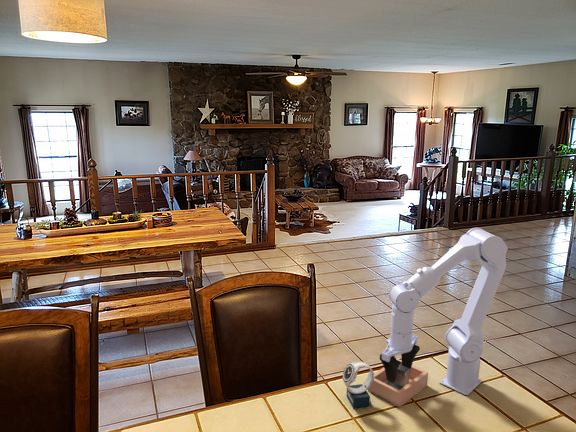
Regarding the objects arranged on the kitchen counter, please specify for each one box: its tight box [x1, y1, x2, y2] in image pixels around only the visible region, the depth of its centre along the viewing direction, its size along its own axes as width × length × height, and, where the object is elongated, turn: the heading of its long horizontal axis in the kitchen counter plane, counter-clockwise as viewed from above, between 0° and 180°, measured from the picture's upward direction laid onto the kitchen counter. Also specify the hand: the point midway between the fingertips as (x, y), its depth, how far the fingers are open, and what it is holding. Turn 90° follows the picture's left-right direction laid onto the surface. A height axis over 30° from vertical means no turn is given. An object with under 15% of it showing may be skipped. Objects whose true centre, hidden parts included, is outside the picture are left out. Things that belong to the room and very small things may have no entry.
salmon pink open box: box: [367, 358, 429, 408], centre depth 123 cm, size 14×10×4 cm
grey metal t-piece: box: [385, 365, 410, 390], centre depth 123 cm, size 5×5×6 cm
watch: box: [342, 361, 375, 410], centre depth 116 cm, size 6×8×11 cm
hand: (398, 375), depth 123 cm, fingers open, 7 cm apart
